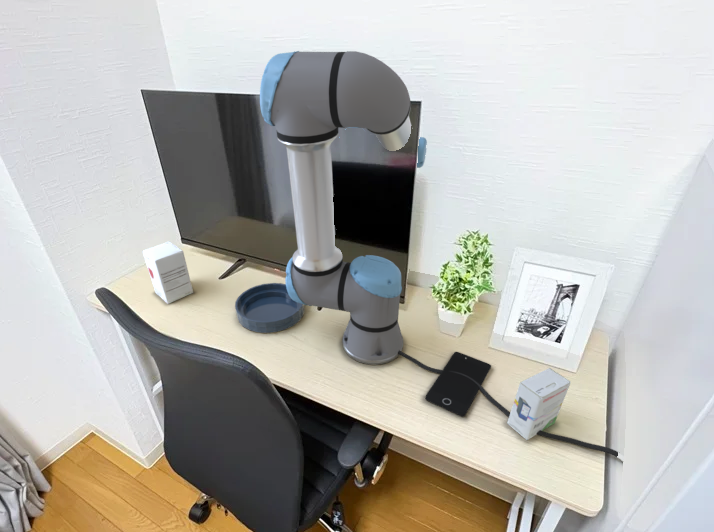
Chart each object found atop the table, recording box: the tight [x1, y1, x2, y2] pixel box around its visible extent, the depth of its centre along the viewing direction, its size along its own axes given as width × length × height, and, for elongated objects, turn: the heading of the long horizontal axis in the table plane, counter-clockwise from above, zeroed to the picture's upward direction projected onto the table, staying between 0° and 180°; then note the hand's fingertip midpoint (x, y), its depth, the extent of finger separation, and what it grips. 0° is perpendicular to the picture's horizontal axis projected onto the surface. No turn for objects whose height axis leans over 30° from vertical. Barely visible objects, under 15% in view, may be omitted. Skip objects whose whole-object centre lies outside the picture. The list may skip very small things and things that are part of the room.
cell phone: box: [424, 351, 492, 418], centre depth 94 cm, size 9×18×1 cm, turn 144°
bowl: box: [234, 282, 306, 334], centre depth 118 cm, size 19×19×4 cm
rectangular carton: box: [142, 241, 194, 305], centre depth 125 cm, size 9×9×15 cm
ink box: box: [506, 367, 572, 441], centre depth 81 cm, size 9×5×12 cm, turn 118°
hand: (315, 269), depth 119 cm, fingers closed on supplement bottle, 6 cm apart
